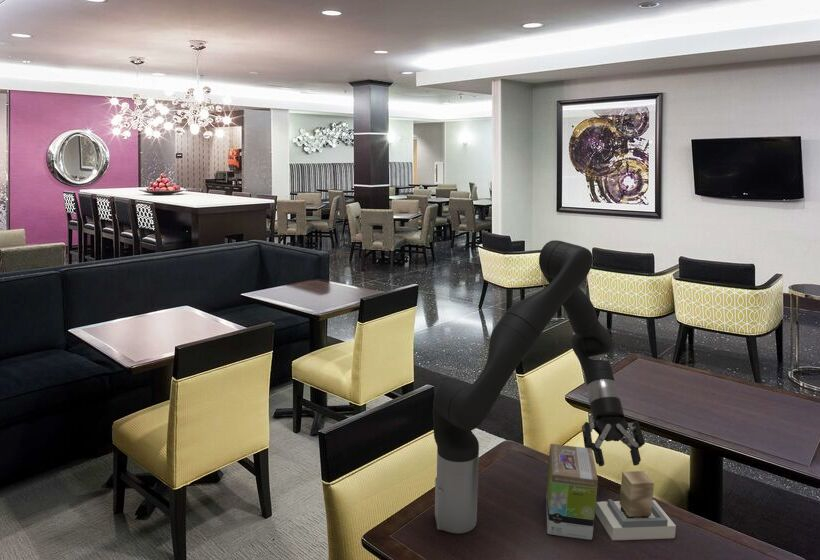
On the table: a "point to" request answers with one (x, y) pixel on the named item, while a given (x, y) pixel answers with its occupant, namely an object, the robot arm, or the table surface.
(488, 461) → the table surface
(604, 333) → the robot arm
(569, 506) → the tea box
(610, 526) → the dock
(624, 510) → the tall cardboard box
